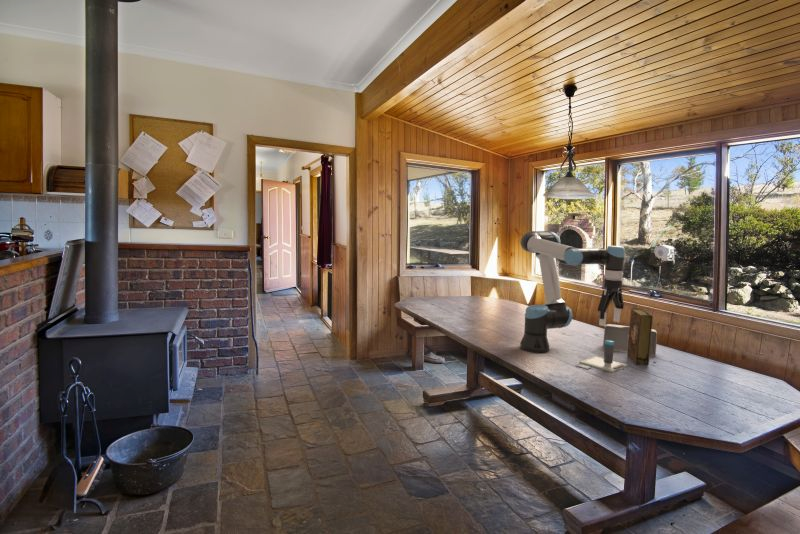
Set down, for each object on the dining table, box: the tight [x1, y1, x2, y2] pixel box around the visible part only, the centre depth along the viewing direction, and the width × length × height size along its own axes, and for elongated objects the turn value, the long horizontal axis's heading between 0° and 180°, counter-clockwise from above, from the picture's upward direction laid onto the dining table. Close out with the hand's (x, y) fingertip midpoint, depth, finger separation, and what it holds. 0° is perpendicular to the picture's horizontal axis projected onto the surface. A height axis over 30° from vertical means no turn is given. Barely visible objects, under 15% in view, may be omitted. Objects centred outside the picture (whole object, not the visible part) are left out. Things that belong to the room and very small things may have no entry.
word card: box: [575, 363, 593, 370], centre depth 214 cm, size 6×4×1 cm, turn 39°
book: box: [626, 307, 654, 366], centre depth 224 cm, size 16×6×25 cm, turn 168°
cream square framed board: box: [579, 355, 628, 373], centre depth 218 cm, size 16×15×1 cm
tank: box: [602, 323, 658, 358], centre depth 244 cm, size 25×16×12 cm, turn 62°
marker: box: [603, 340, 615, 367], centre depth 212 cm, size 4×4×12 cm
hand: (609, 323), depth 212 cm, fingers open, 13 cm apart
